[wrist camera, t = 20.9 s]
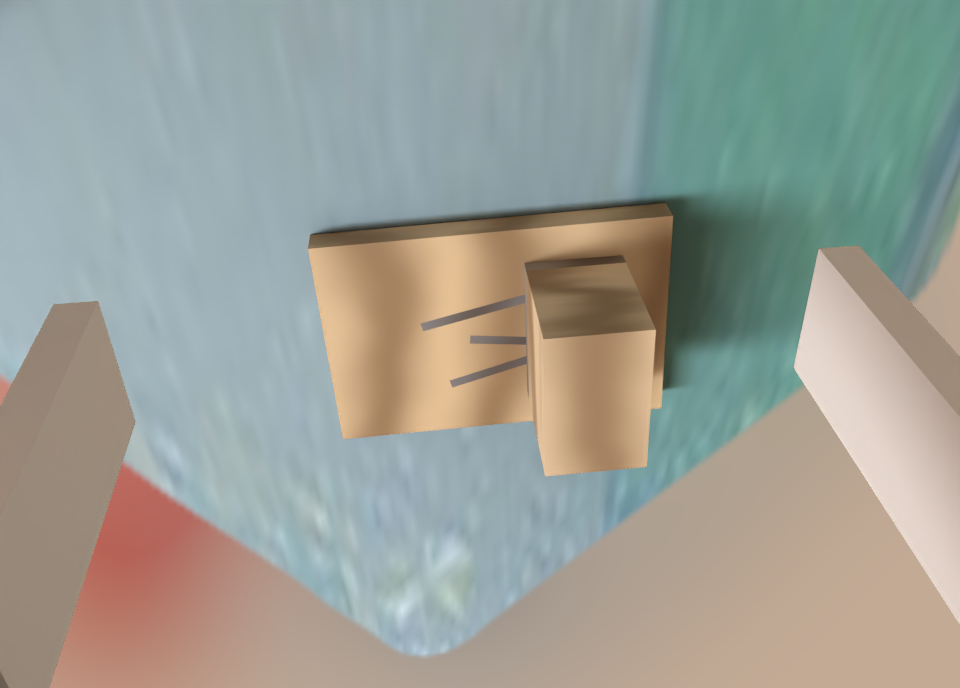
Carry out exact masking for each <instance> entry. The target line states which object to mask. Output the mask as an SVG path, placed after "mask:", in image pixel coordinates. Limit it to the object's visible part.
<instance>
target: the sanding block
mask: <svg viewBox="0 0 960 688" xmlns="http://www.w3.org/2000/svg"><path fill="white" fill-rule="evenodd" d="M524 279H525V318H526V357H527V392H528V396H529V401H530V406H531V411H532V415H533V420H534V425H535V430H536V435H537V439H538V444H539V449H540V454H541V459H542V463H543V468H544V473H545V476H553V475H564V474H574V473H585V472H596V471H607V470H618V469H629V468H639V467H647V454H648V439H649V425H650V410H651V395H652V381H653V366H654V351H655V337H656V329H655V326H654V324H653V322H652V320H651V317H650V315H649V313H648V311H647V308H646V306H645V304H644V302H643V300H642V297H641V295H640V293H639V291H638V288H637V286H636V284H635V282H634V279H633V277H632V275H631V273H630V270H629V268H628V266H627V264H626V261H625V259H624V257H623V255H617V256H605V257H593V258H581V259H569V260H557V261H544V262H532V263H524Z"/></svg>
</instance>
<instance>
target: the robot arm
mask: <svg viewBox="0 0 960 688" xmlns="http://www.w3.org/2000/svg"><path fill="white" fill-rule="evenodd" d="M794 369H795V370H796V372H797V374H798V375H799V377H800V378H801V380H802V381H803V383H804V384H805V386H806V387H807V389H808V391H809V392H810V394H811V395H812V397H813V398H814V400H815V401H816V403H817V404H818V406H819V408H820V409H821V410H822V412H823V414H824V415H825V417H826V418H827V420H828V421H829V423H830V425H831V426H832V428H833V429H834V431H835V432H836V434H837V435H838V437H839V438H840V440H841V442H842V443H843V445H844V446H845V448H846V449H847V451H848V452H849V454H850V455H851V457H852V459H853V460H854V462H855V463H856V465H857V466H858V468H859V469H860V471H861V472H862V474H863V475H864V477H865V479H866V480H867V482H868V483H869V485H870V486H871V488H872V489H873V491H874V492H875V494H876V495H877V497H878V498H879V500H880V502H881V503H882V505H883V506H884V508H885V509H886V511H887V512H888V514H889V516H890V517H891V519H892V520H893V522H894V523H895V525H896V527H897V528H898V530H899V531H900V533H901V534H902V535H903V537H904V539H905V540H906V542H907V544H908V545H909V547H910V548H911V550H912V551H913V553H914V554H915V556H916V557H917V559H918V561H919V562H920V564H921V565H922V567H923V568H924V570H925V571H926V573H927V574H928V576H929V577H930V579H931V581H932V582H933V584H934V585H935V587H936V588H937V590H938V591H939V593H940V595H941V596H942V598H943V599H944V601H945V602H946V604H947V605H948V607H949V608H950V610H951V611H952V613H953V615H954V616H955V618H956V619H957V621H958V622H959V624H960V356H959V355H958V354H957V353H956V352H955V350H954V349H953V348H952V347H951V346H950V345H949V344H948V343H947V342H946V341H945V339H944V338H943V337H942V336H941V335H940V334H939V333H938V332H937V331H936V330H935V329H934V328H933V326H932V325H931V324H930V323H929V322H928V321H927V320H926V319H925V318H924V317H923V316H922V314H921V313H920V312H919V311H918V310H917V309H916V308H915V307H914V306H913V305H912V303H911V302H910V301H909V300H908V299H907V298H906V297H905V296H904V295H903V294H902V292H901V291H900V290H899V289H898V288H897V287H896V286H895V285H894V284H893V283H892V282H891V280H890V279H889V278H888V277H887V276H886V275H885V274H884V273H883V272H882V271H881V270H880V268H879V267H878V266H877V265H876V264H875V263H874V262H873V261H872V260H871V259H870V258H869V256H868V255H867V254H866V253H865V252H864V251H863V250H862V249H861V248H860V247H859V246H846V247H833V248H819V250H818V255H817V260H816V265H815V269H814V274H813V279H812V284H811V288H810V293H809V298H808V303H807V307H806V312H805V317H804V322H803V326H802V331H801V336H800V340H799V345H798V350H797V355H796V359H795V364H794ZM134 425H135V419H134V415H133V412H132V409H131V406H130V403H129V399H128V396H127V393H126V390H125V386H124V383H123V380H122V377H121V373H120V370H119V367H118V364H117V360H116V357H115V354H114V351H113V348H112V344H111V341H110V338H109V335H108V331H107V328H106V325H105V322H104V318H103V315H102V312H101V309H100V306H99V302H98V301H94V302H80V303H66V304H54V305H53V307H52V308H51V310H50V312H49V314H48V316H47V318H46V320H45V322H44V324H43V326H42V328H41V329H40V331H39V333H38V335H37V337H36V339H35V341H34V343H33V345H32V347H31V348H30V350H29V352H28V354H27V356H26V358H25V360H24V362H23V364H22V366H21V368H20V369H19V371H18V373H17V375H16V377H15V379H14V381H13V383H12V385H11V387H10V388H9V390H8V392H7V394H6V396H5V398H4V400H3V402H2V404H1V406H0V688H49V687H50V684H51V681H52V678H53V675H54V672H55V668H56V666H57V662H58V659H59V656H60V653H61V650H62V647H63V644H64V641H65V638H66V634H67V631H68V629H69V625H70V622H71V619H72V616H73V613H74V610H75V607H76V604H77V601H78V597H79V595H80V591H81V588H82V585H83V582H84V579H85V576H86V572H87V570H88V567H89V563H90V560H91V557H92V554H93V551H94V548H95V545H96V542H97V539H98V536H99V533H100V529H101V526H102V524H103V520H104V517H105V514H106V511H107V508H108V505H109V502H110V499H111V496H112V493H113V490H114V487H115V483H116V480H117V477H118V474H119V471H120V468H121V465H122V462H123V459H124V456H125V453H126V449H127V446H128V443H129V440H130V437H131V434H132V431H133V428H134Z"/></svg>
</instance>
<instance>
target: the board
mask: <svg viewBox="0 0 960 688" xmlns="http://www.w3.org/2000/svg"><path fill="white" fill-rule="evenodd" d="M672 228H673V214H672V213H671V211H670V209H669V208H668V206H667V204H666V203H659V204H648V205H637V206H626V207H615V208H604V209H593V210H581V211H570V212H559V213H548V214H537V215H526V216H515V217H504V218H493V219H482V220H471V221H459V222H448V223H437V224H426V225H415V226H404V227H393V228H382V229H371V230H360V231H349V232H337V233H326V234H315V235H310V240H309V246H308V252H309V257H310V262H311V268H312V273H313V279H314V284H315V289H316V295H317V300H318V306H319V311H320V317H321V322H322V327H323V333H324V338H325V344H326V349H327V354H328V360H329V365H330V371H331V376H332V381H333V387H334V392H335V398H336V403H337V409H338V414H339V419H340V425H341V430H342V436H343V439H349V438H359V437H370V436H380V435H390V434H400V433H411V432H421V431H431V430H441V429H452V428H462V427H472V426H482V425H492V424H503V423H513V422H523V421H533V415H532V411H531V406H530V401H529V396H528V392H527V357H526V318H525V279H524V263H532V262H544V261H557V260H569V259H581V258H593V257H605V256H617V255H623V257H624V259H625V261H626V264H627V266H628V268H629V270H630V273H631V275H632V277H633V279H634V282H635V284H636V286H637V288H638V291H639V293H640V295H641V297H642V300H643V302H644V304H645V306H646V308H647V311H648V313H649V315H650V317H651V320H652V322H653V324H654V326H655V329H656V337H655V351H654V366H653V381H652V395H651V409H656V408H661V403H662V387H663V371H664V355H665V339H666V323H667V307H668V291H669V276H670V260H671V244H672Z"/></svg>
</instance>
